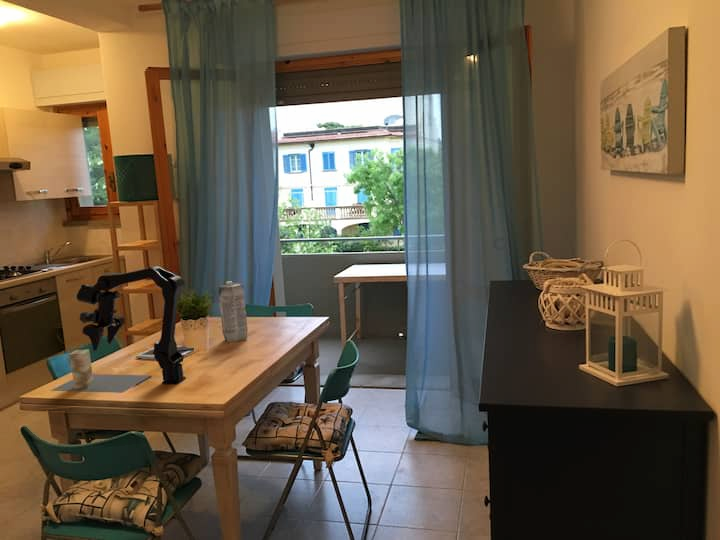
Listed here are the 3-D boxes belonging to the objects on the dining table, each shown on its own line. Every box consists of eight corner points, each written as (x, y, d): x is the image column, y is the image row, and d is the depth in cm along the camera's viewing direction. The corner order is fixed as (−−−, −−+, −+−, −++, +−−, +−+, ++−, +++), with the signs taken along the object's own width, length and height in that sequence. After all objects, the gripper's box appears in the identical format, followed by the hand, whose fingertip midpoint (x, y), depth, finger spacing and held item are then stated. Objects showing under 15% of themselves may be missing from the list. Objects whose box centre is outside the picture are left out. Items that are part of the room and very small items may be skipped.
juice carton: (249, 339, 272) (244, 281, 268) (226, 343, 268) (220, 284, 264) (244, 335, 280) (239, 279, 276) (222, 339, 276) (216, 282, 271)
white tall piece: (93, 382, 223) (89, 349, 221) (88, 387, 218) (83, 353, 216) (80, 383, 223) (75, 350, 221) (74, 388, 218) (69, 354, 216)
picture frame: (199, 351, 261) (160, 349, 268) (198, 345, 260) (160, 343, 268) (176, 362, 246) (136, 360, 254) (175, 356, 246) (135, 353, 253)
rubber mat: (151, 376, 228) (151, 375, 228) (122, 394, 211) (122, 392, 211) (84, 375, 235) (83, 373, 235) (50, 392, 218) (50, 390, 218)
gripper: (100, 297, 230) (97, 335, 233) (70, 308, 212) (66, 349, 215) (127, 303, 229) (123, 341, 232) (99, 314, 211) (95, 356, 214)
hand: (102, 346), depth 223 cm, fingers open, 9 cm apart
